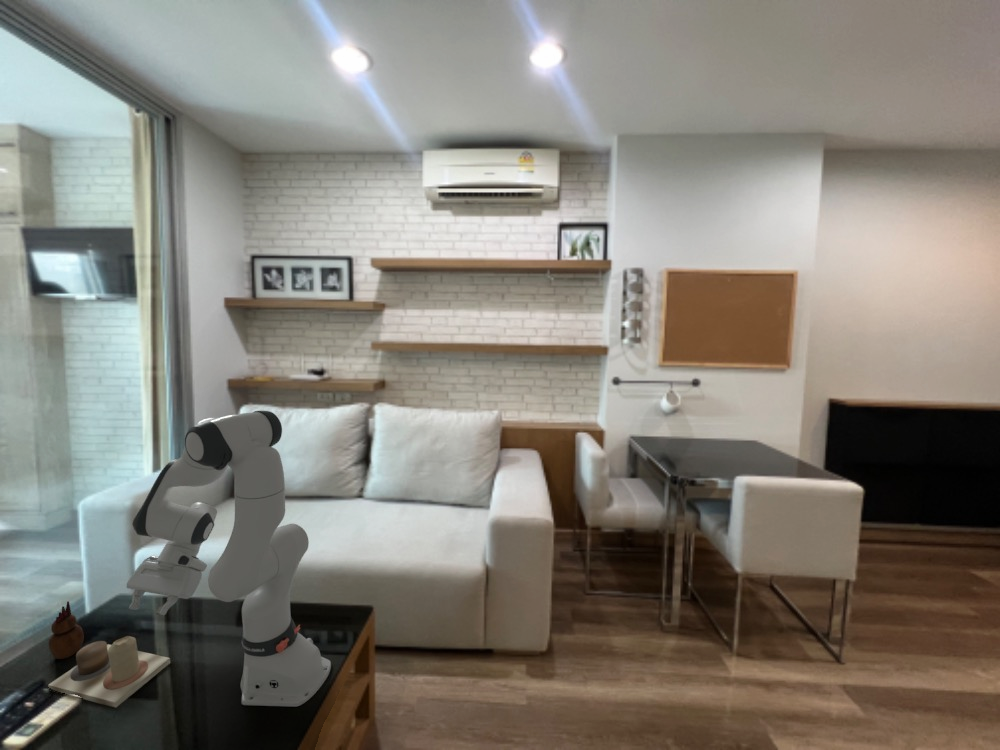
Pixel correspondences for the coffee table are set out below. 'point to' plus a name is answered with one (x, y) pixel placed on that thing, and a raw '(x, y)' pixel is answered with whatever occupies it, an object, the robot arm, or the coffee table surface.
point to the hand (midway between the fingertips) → (146, 612)
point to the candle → (123, 659)
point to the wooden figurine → (65, 635)
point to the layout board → (105, 675)
